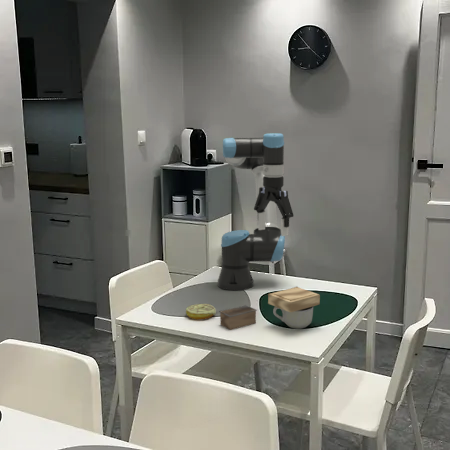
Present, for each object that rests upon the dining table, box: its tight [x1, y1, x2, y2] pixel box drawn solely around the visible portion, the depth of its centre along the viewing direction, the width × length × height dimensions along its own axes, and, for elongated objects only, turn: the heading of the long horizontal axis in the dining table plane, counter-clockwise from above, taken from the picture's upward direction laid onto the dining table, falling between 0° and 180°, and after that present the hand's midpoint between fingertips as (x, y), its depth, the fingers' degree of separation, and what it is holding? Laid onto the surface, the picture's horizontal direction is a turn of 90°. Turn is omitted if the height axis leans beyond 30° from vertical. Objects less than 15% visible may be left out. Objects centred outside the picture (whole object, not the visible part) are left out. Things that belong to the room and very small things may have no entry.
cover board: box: [267, 286, 321, 313], centre depth 211 cm, size 12×14×4 cm
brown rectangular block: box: [219, 304, 258, 331], centre depth 214 cm, size 6×11×5 cm, turn 125°
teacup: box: [272, 306, 315, 330], centre depth 212 cm, size 14×11×8 cm
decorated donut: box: [185, 303, 217, 321], centre depth 223 cm, size 10×11×4 cm
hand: (272, 232), depth 228 cm, fingers open, 13 cm apart
